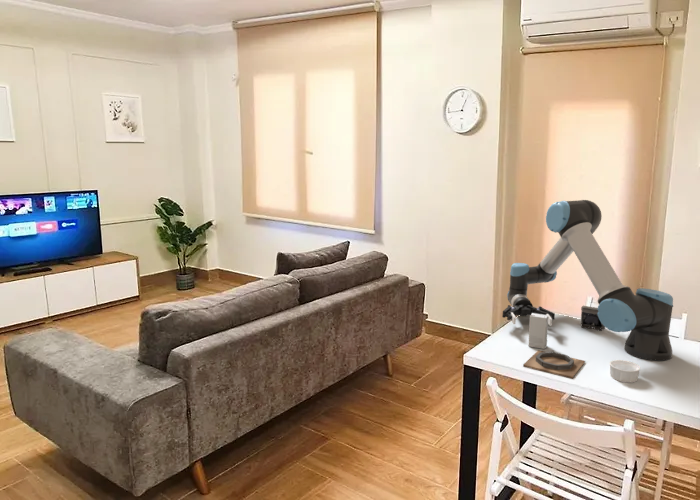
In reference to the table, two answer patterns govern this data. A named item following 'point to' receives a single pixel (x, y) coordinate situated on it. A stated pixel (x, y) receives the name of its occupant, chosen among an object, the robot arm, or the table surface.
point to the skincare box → (538, 330)
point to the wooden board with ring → (554, 363)
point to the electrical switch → (591, 318)
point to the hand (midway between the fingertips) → (532, 321)
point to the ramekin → (624, 371)
